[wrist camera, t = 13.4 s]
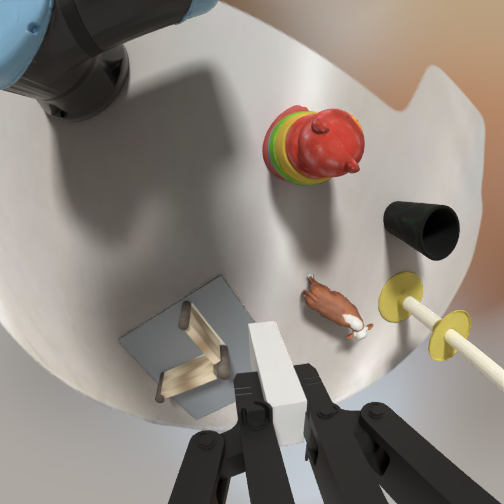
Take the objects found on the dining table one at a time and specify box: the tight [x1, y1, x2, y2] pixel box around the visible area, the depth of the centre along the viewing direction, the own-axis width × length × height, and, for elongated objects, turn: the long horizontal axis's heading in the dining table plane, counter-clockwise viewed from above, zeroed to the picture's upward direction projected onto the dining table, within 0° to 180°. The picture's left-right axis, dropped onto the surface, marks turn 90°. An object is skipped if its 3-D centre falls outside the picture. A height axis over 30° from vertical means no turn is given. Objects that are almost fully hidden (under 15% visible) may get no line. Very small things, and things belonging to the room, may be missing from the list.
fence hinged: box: [155, 355, 217, 403], centre depth 47 cm, size 11×1×7 cm, turn 116°
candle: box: [379, 271, 504, 392], centre depth 37 cm, size 10×10×32 cm
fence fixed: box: [178, 301, 231, 380], centre depth 45 cm, size 11×2×7 cm, turn 32°
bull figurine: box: [301, 274, 373, 340], centre depth 47 cm, size 4×13×8 cm, turn 50°
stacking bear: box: [263, 105, 365, 185], centre depth 35 cm, size 11×10×18 cm
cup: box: [383, 201, 460, 261], centre depth 42 cm, size 8×8×12 cm
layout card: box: [118, 275, 255, 420], centre depth 51 cm, size 22×21×1 cm
